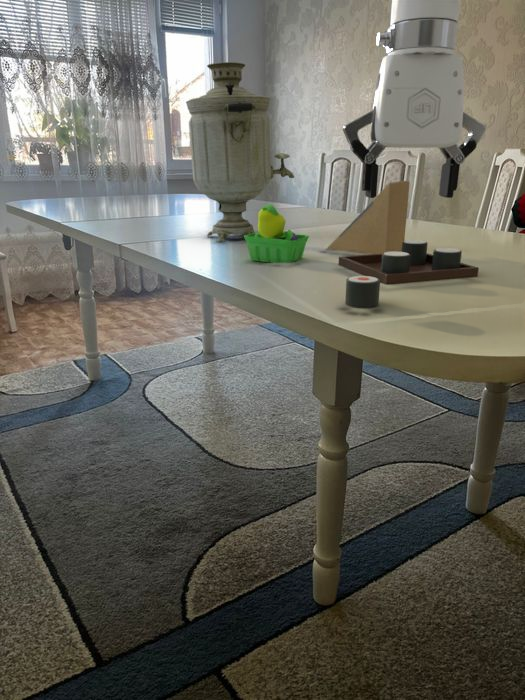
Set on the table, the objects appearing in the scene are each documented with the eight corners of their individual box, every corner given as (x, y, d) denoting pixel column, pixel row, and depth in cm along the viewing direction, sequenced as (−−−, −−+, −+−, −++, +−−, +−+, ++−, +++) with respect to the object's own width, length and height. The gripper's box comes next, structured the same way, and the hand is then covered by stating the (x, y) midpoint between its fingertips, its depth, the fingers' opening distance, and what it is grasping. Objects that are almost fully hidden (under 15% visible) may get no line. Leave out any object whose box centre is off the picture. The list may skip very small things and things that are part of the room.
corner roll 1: (414, 279, 90) (416, 254, 89) (389, 281, 89) (391, 256, 87) (399, 274, 94) (401, 250, 93) (375, 276, 93) (377, 252, 91)
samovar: (296, 247, 125) (299, 52, 112) (183, 247, 126) (173, 54, 112) (293, 230, 153) (295, 73, 140) (200, 230, 154) (193, 74, 140)
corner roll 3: (464, 275, 93) (467, 251, 91) (441, 277, 91) (444, 252, 90) (448, 270, 97) (450, 247, 96) (426, 271, 96) (428, 248, 94)
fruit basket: (310, 260, 110) (311, 203, 106) (288, 268, 103) (289, 206, 99) (262, 255, 116) (262, 200, 112) (239, 262, 109) (237, 204, 105)
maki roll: (384, 310, 75) (386, 280, 73) (354, 313, 73) (356, 283, 72) (368, 302, 79) (370, 273, 77) (339, 304, 78) (340, 276, 76)
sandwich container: (344, 245, 127) (347, 178, 122) (404, 252, 117) (410, 180, 112) (323, 250, 121) (325, 180, 116) (384, 258, 111) (390, 182, 106)
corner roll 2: (430, 264, 102) (432, 242, 100) (409, 266, 100) (411, 244, 99) (416, 260, 106) (418, 239, 104) (396, 262, 105) (397, 240, 103)
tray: (477, 279, 92) (479, 267, 91) (385, 288, 87) (386, 275, 86) (418, 261, 108) (419, 251, 107) (338, 267, 103) (338, 256, 102)
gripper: (354, 37, 59) (345, 199, 65) (510, 38, 60) (487, 199, 65) (342, 49, 66) (335, 195, 72) (481, 50, 67) (463, 194, 73)
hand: (408, 197), depth 69 cm, fingers open, 9 cm apart
